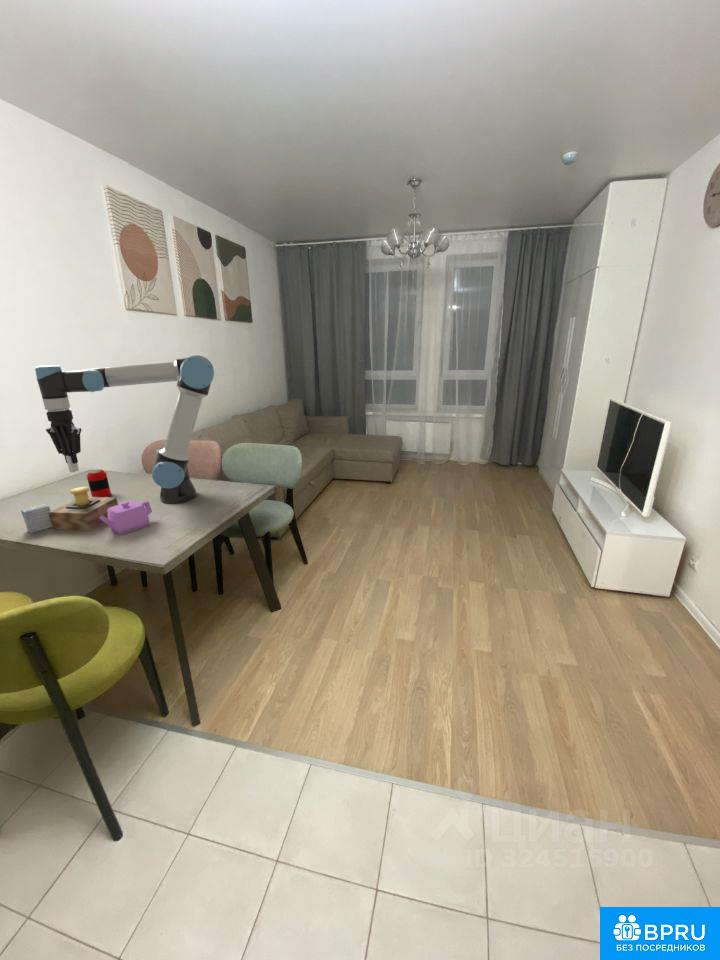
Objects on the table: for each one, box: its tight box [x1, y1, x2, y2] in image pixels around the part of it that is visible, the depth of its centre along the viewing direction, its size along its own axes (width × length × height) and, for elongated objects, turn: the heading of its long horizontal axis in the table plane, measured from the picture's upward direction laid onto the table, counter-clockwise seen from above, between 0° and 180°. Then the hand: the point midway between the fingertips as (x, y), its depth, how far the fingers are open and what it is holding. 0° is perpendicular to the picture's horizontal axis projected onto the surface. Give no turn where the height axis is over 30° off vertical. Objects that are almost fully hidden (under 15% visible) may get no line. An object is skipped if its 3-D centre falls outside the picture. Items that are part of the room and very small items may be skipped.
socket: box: [48, 496, 119, 531], centre depth 158 cm, size 16×16×8 cm
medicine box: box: [21, 503, 53, 534], centre depth 152 cm, size 8×4×9 cm, turn 141°
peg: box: [69, 486, 90, 506], centre depth 156 cm, size 6×6×8 cm
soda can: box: [86, 469, 112, 497], centre depth 184 cm, size 8×8×12 cm
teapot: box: [99, 500, 153, 536], centre depth 151 cm, size 18×10×10 cm, turn 143°
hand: (74, 471), depth 153 cm, fingers closed
